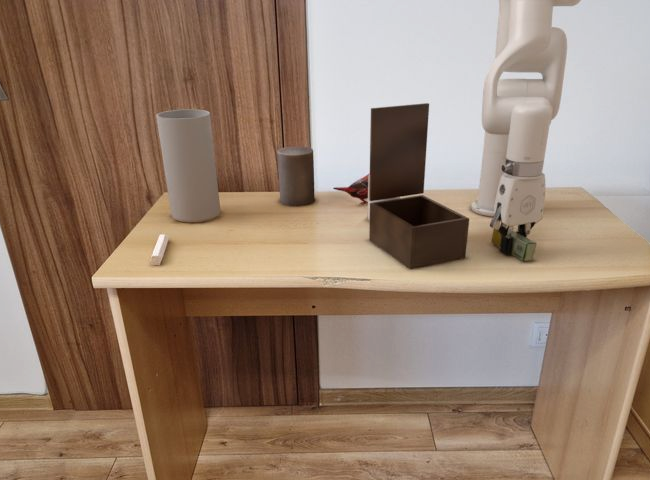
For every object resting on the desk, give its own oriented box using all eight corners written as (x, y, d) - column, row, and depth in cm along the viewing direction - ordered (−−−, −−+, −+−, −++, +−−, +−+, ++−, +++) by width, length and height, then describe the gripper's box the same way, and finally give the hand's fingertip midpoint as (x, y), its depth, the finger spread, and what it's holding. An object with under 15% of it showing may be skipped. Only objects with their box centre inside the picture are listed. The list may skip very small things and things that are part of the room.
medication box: (534, 260, 132) (538, 242, 130) (524, 262, 131) (528, 244, 129) (499, 241, 141) (502, 224, 139) (490, 242, 140) (492, 225, 138)
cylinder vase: (187, 227, 153) (172, 121, 140) (163, 215, 161) (146, 114, 148) (230, 216, 160) (219, 114, 147) (205, 205, 168) (193, 107, 155)
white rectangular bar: (166, 241, 146) (158, 267, 133) (158, 238, 146) (148, 263, 132) (171, 232, 145) (163, 257, 132) (162, 228, 145) (153, 252, 131)
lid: (429, 103, 134) (416, 99, 138) (372, 108, 129) (360, 104, 133) (423, 193, 144) (411, 187, 148) (370, 201, 139) (359, 194, 143)
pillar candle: (321, 199, 172) (320, 143, 164) (301, 208, 165) (299, 151, 157) (293, 194, 176) (290, 139, 169) (272, 203, 169) (268, 146, 161)
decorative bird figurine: (389, 201, 170) (391, 164, 165) (336, 213, 161) (336, 174, 156) (383, 198, 172) (384, 161, 167) (330, 210, 163) (329, 172, 158)
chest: (465, 258, 134) (469, 218, 129) (410, 269, 129) (412, 228, 124) (420, 231, 149) (422, 194, 144) (369, 240, 144) (369, 202, 139)
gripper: (502, 177, 121) (491, 264, 131) (567, 167, 127) (552, 252, 136) (479, 168, 127) (471, 252, 137) (542, 159, 133) (530, 241, 142)
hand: (511, 251), depth 136 cm, fingers closed on medication box, 3 cm apart
